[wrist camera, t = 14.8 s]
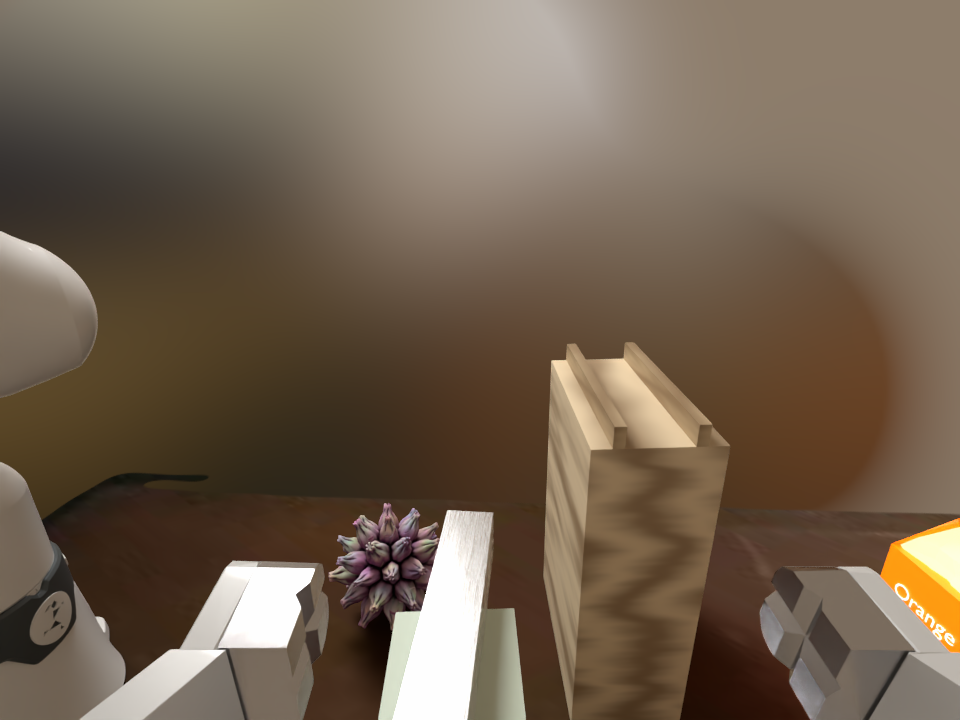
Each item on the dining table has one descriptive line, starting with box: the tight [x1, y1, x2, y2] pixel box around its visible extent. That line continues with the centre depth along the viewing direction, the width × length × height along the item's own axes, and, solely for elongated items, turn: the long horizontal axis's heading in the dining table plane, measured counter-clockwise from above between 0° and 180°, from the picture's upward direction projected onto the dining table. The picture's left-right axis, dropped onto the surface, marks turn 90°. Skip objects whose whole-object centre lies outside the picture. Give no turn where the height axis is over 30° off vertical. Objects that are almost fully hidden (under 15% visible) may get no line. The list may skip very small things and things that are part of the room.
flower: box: [328, 503, 440, 630], centre depth 50 cm, size 12×12×12 cm
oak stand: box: [544, 343, 730, 720], centre depth 44 cm, size 9×16×28 cm, turn 1°
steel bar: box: [393, 510, 493, 720], centre depth 28 cm, size 4×24×4 cm
